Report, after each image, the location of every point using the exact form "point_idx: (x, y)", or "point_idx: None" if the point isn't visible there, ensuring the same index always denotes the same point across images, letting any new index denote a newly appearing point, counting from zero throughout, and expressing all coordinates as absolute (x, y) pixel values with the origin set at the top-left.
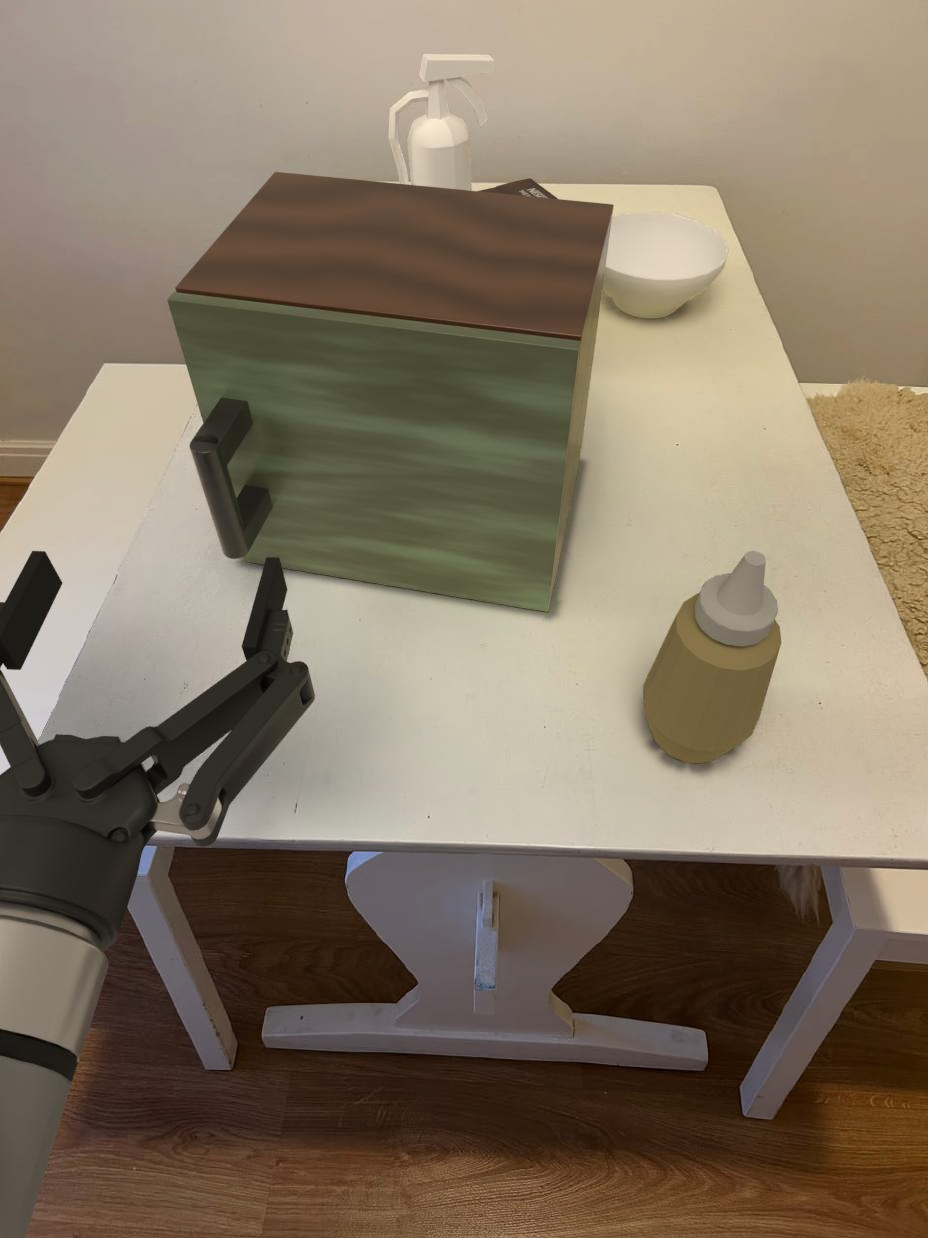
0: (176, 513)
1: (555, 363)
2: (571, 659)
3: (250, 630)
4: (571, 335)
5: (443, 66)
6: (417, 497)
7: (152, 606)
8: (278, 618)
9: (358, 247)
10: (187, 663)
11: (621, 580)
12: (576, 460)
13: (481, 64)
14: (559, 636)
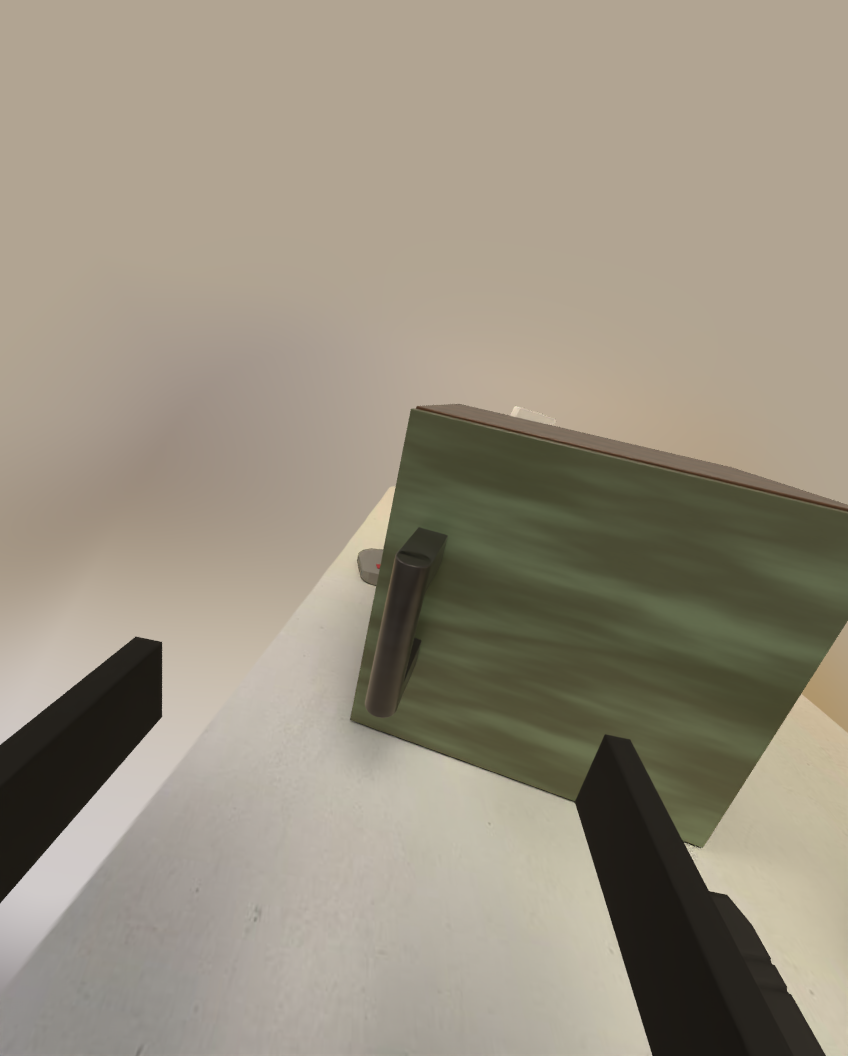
0: (283, 656)
1: None
2: (774, 937)
3: (733, 993)
4: None
5: (528, 413)
6: (601, 678)
7: (236, 761)
8: (730, 927)
9: (566, 434)
10: (266, 866)
11: (750, 813)
12: None
13: (548, 418)
14: (735, 890)
